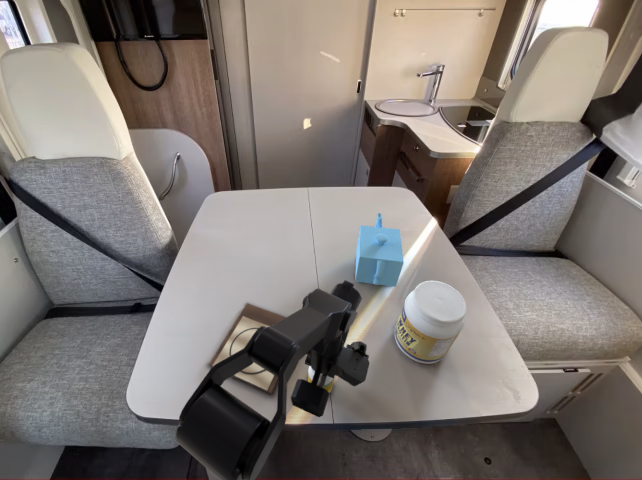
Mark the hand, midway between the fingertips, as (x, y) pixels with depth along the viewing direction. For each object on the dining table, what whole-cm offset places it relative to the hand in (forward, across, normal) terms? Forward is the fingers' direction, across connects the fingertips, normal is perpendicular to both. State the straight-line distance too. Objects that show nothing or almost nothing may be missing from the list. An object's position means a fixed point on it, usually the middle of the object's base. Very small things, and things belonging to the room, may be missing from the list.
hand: (320, 379), depth 66 cm
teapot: (+3, +39, -4) cm, 39 cm away
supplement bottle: (+3, 0, 0) cm, 3 cm away
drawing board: (+3, +3, +17) cm, 17 cm away
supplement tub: (+3, +19, -19) cm, 27 cm away
